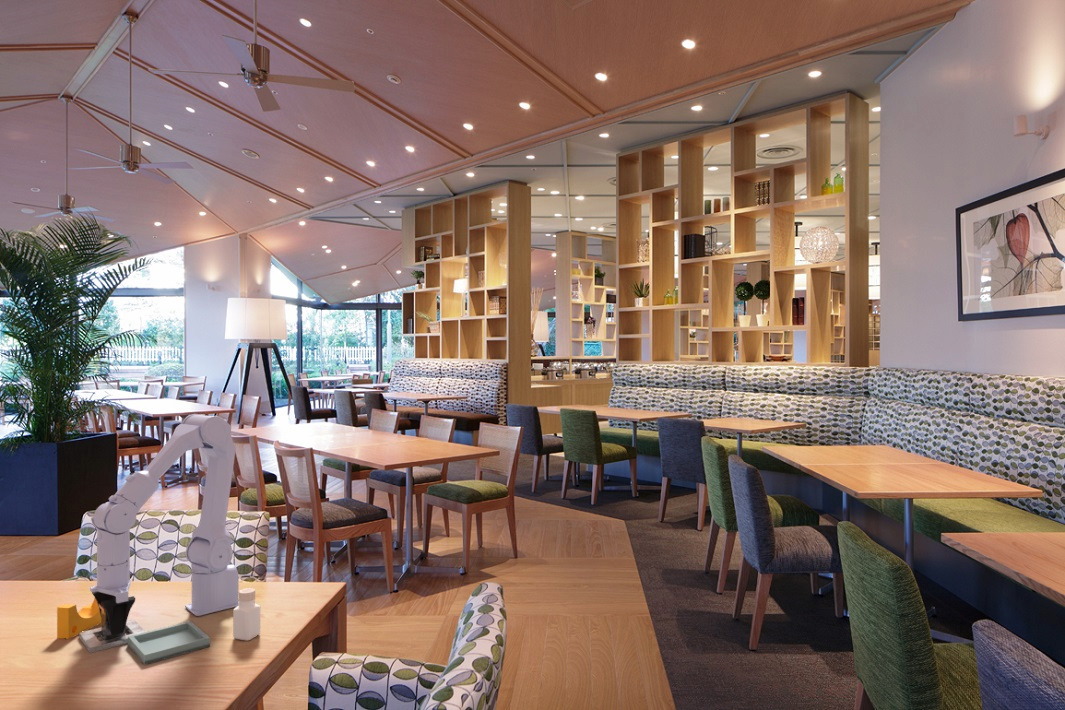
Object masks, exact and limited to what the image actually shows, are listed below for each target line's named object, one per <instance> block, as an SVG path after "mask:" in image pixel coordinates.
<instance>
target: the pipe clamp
mask: <svg viewBox="0 0 1065 710" xmlns="http://www.w3.org/2000/svg"><path fill="white" fill-rule="evenodd" d="M56 610H57V611H56V623H57V624H56V639H59V638H66V639H65V640H70V639H72V638H74V637H75V635H76V636H78V635H79V632H82V631H85V630H86V631H88V630H89V628H90V629H92V628H94V627H95V625H96V626H98V625H100V624H101V615H100V610H99V606H98V603H97V601H96V599H95V597H94V598H93V601H92V603H89V604H88V605H87V604H86V605H85V606H83V607H81V609H80V610H79V611H78V609H77V604H74V603H73V604H71V603H64V604H61V605H59V606H57V608H56ZM99 623H100V624H99ZM97 624H98V625H97ZM93 626H94V627H93ZM91 627H92V628H91ZM87 629H88V630H87ZM77 634H78V635H77ZM73 636H74V637H73ZM71 637H72V638H71ZM69 638H70V639H69Z"/></svg>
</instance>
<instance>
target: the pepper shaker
mask: <svg viewBox="0 0 1065 710" xmlns="http://www.w3.org/2000/svg"><path fill="white" fill-rule="evenodd" d="M238 603H239V606H237V607H234V608H233V610H232V611H233V612H232V617H233V618H232V619H233V620H232V628H233V630H232V632H233V633H232V636H233V637H232V638H234V639H235V640H241V641H250V640H252V639H254V638H256V637H257V635H258V636H259V635H260V634H261V606H260V605H259V604H257V603H256V589H255V588H252V587H251V588H250V587H246V588H243V589H240V590H238Z"/></svg>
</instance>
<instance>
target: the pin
mask: <svg viewBox="0 0 1065 710" xmlns="http://www.w3.org/2000/svg"><path fill="white" fill-rule="evenodd" d="M99 607H100V608H101V623H100V626H101V627H100V628H101V636H100V637H101V641H105V640H109V639H113V638H117V637H121V636H125V635H126V630H124V633H120V634H116V635H112V634H111V632H110V627H109V621H108V616H107V613H106V610H105V608H104V606H103V605H102V603H100V604H99Z"/></svg>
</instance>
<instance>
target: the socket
mask: <svg viewBox="0 0 1065 710" xmlns="http://www.w3.org/2000/svg"><path fill="white" fill-rule="evenodd" d="M125 631H127V632H128V634H125V636H121V637H117V638H113V639H109V640H105V641H103V640H99V639H98V637H101V627H98V628H91V629H90V630H89V629H88V630H86V631H84V632H79V634H78V638H79V639H80V641H81V642H82V644H83V645H84V646H85V648H86V649H87V651H88V652H89V654H91V653H95V652H99V651H104V650H108V649H110V648H111V649H113V648H114V647H119V646H123V645H126V644H127V645H128V636H132V635H136V634H140V633H144V632H147V631H146V630H145V629H144V628H143V627H142V626H141V625H140V624H139V623H138V622H137V621H136V620H135V619H132V620H127V622H126V626H125Z"/></svg>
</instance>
